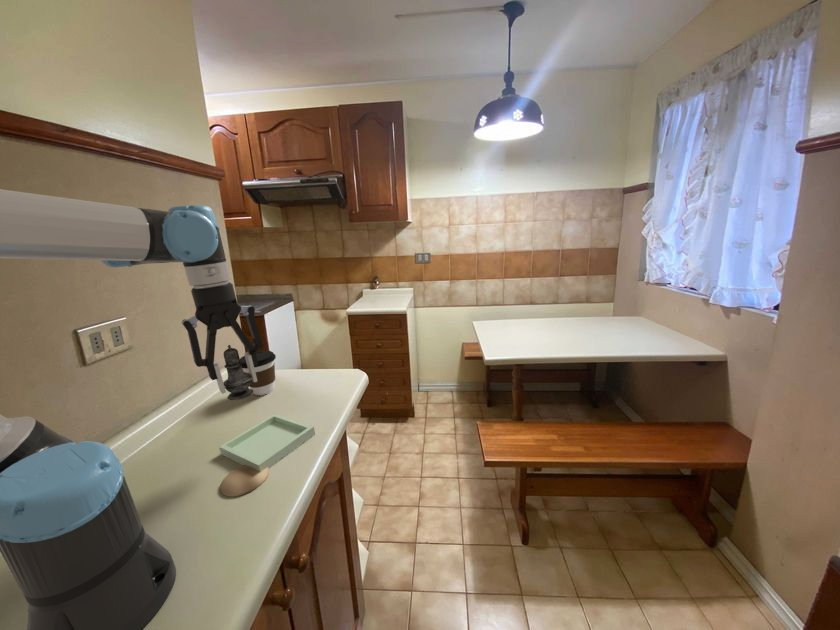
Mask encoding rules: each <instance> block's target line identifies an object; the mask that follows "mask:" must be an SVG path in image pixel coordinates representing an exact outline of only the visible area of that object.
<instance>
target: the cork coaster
mask: <svg viewBox="0 0 840 630" xmlns="http://www.w3.org/2000/svg"><path fill="white" fill-rule="evenodd" d="M269 469H270V468H268V467H266V468H265V469H264V470H262V471H261V472H260V471H258V470H256V469H253V468H251V467H249V466H247V465H241V466H239V467H237V468H235V469H233V470H232V471H231V472H229V473H228V474H227V475H226V476H225V477H224V478H223V479H222V481H221V483H220V491H221V494H223V495H224V496H226V497H230V498H231V497H233V498H234V497H240V496H243V495H244V496H245V495H246V494H249V493H251V492H254V491H255V490H256V489H257V488H259V487H260V486H262V485H263V483H265V482H266V480H267V479H268V477H269V475H270V470H269Z"/></svg>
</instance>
